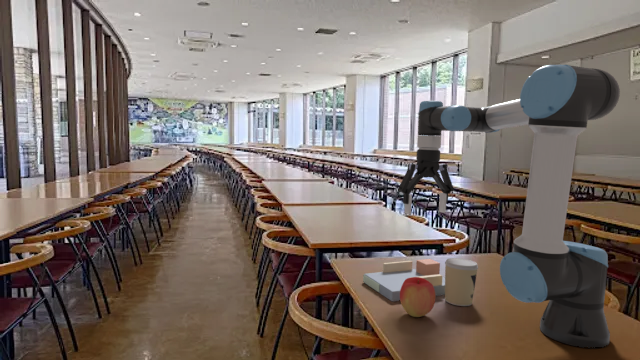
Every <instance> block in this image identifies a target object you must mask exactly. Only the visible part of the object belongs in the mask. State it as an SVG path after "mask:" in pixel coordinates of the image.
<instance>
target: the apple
mask: <svg viewBox="0 0 640 360" xmlns="http://www.w3.org/2000/svg"><path fill="white" fill-rule="evenodd" d="M435 303H436V296H435V290H434V287H433V285H432V284H431V283H430V282H429V281H427V280H426V279H424V278H420V277H411V278H407V279H406V280H405V281H404V282H403V284H402V287H401V290H400V305H401V307H402V308H403V310H404V312H406V314H408V315H409V316H410V317H413V318H420V317H424V316H425V315H427V314H429V313H430V312H432V310H433V308H434V306H435Z"/></svg>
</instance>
